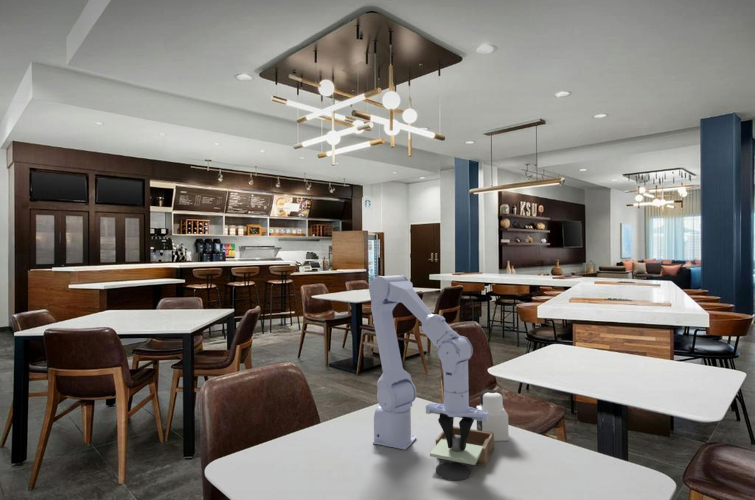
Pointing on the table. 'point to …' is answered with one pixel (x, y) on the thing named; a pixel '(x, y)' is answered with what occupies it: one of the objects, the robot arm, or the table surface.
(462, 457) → the cover plate
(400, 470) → the table surface
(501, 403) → the medicine bottle
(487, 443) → the walnut box
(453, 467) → the rubber coaster
